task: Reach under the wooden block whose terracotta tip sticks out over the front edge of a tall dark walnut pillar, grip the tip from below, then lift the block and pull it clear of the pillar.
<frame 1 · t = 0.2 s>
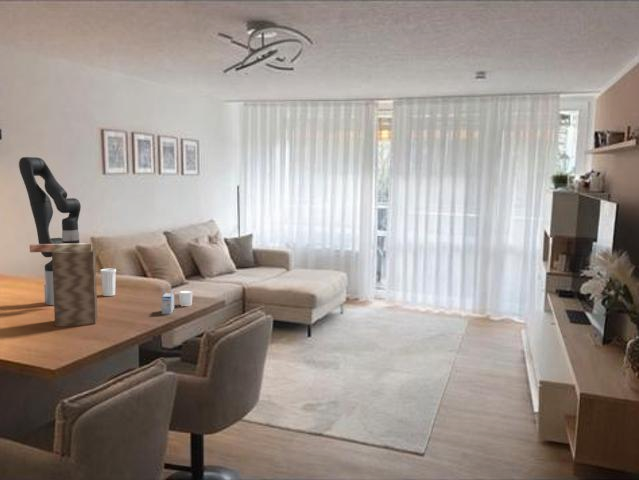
hand: (72, 272, 257), 17 cm above the table, tool pointing down, fingers open, 8 cm apart
wooden block: (61, 251, 227), point 32 cm above the table, touching walnut pillar
shot glass: (185, 305, 266), on the table
walnut pillar: (76, 322, 232), on the table
cup: (109, 295, 284), on the table
medicine box: (168, 312, 252), on the table
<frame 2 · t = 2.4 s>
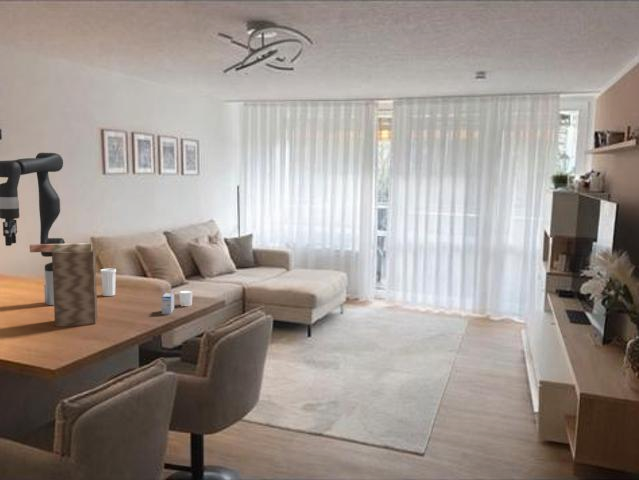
hand: (11, 244, 229), 34 cm above the table, tool pointing down, fingers open, 8 cm apart
nothing on the table moved.
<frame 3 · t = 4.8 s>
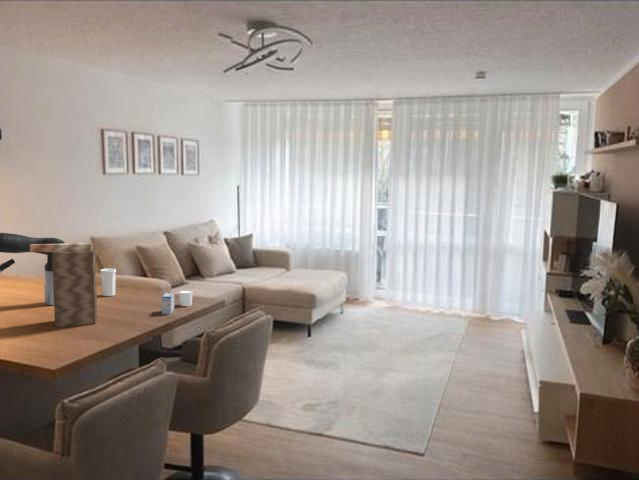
hand: (11, 262, 221), 28 cm above the table, tool pointing upward, fingers open, 8 cm apart
nothing on the table moved.
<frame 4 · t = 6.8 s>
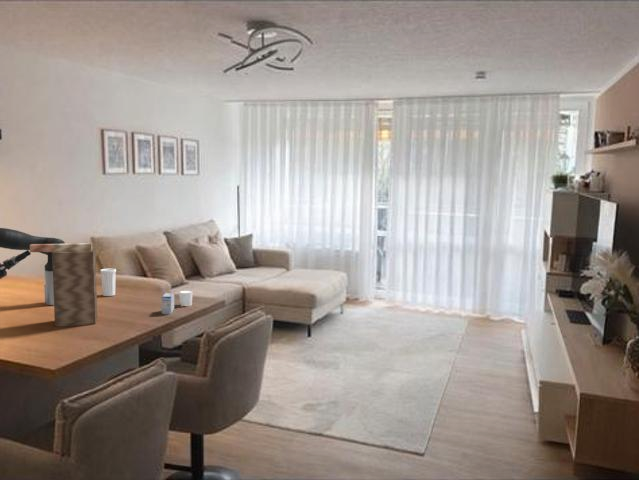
hand: (27, 253, 223), 31 cm above the table, tool pointing upward, fingers open, 8 cm apart
nothing on the table moved.
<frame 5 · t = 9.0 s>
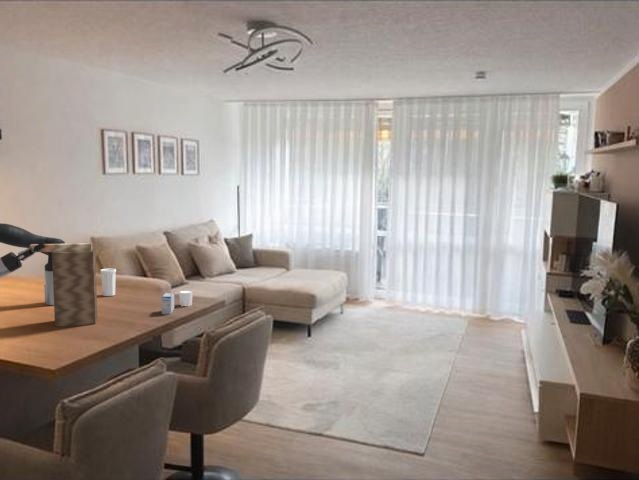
hand: (44, 244, 224), 35 cm above the table, tool pointing upward, fingers closed on wooden block, 3 cm apart
wooden block: (61, 251, 227), point 32 cm above the table, touching gripper, walnut pillar
everything else where it was.
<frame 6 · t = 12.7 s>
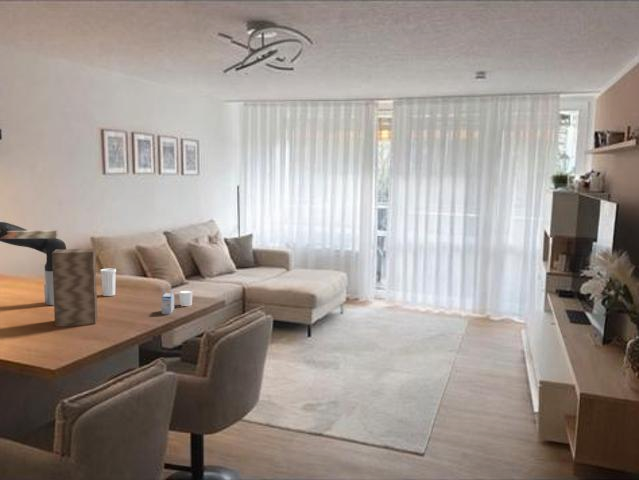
hand: (7, 230, 219), 41 cm above the table, tool pointing upward, fingers closed on wooden block, 3 cm apart
wooden block: (25, 238, 222), point 38 cm above the table, touching gripper
everything else where it was.
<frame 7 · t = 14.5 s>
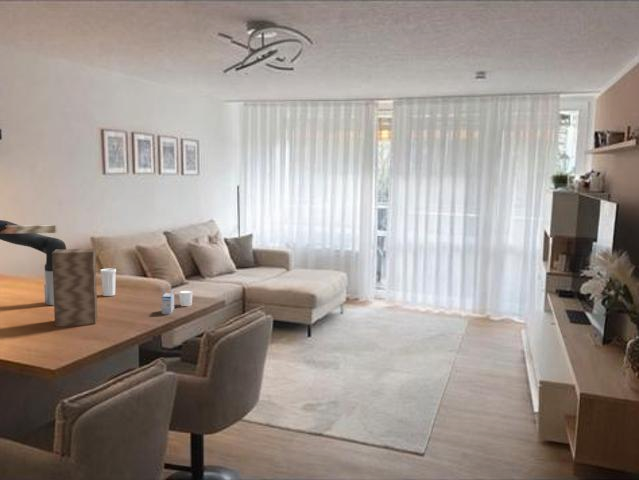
hand: (6, 225, 219), 43 cm above the table, tool pointing upward, fingers closed on wooden block, 3 cm apart
wooden block: (24, 232, 221), point 40 cm above the table, touching gripper
everything else where it was.
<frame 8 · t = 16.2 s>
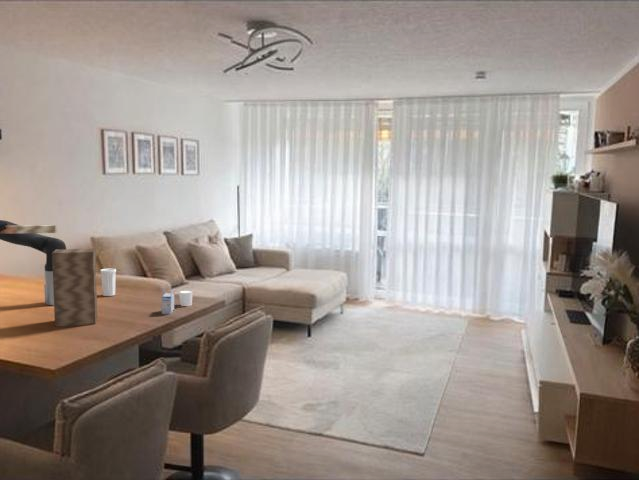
hand: (6, 225, 219), 43 cm above the table, tool pointing upward, fingers closed on wooden block, 3 cm apart
wooden block: (24, 232, 221), point 40 cm above the table, touching gripper
everything else where it was.
at the end: the gripper is holding wooden block; wooden block touching gripper; wooden block moved 16.2 cm from its start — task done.
